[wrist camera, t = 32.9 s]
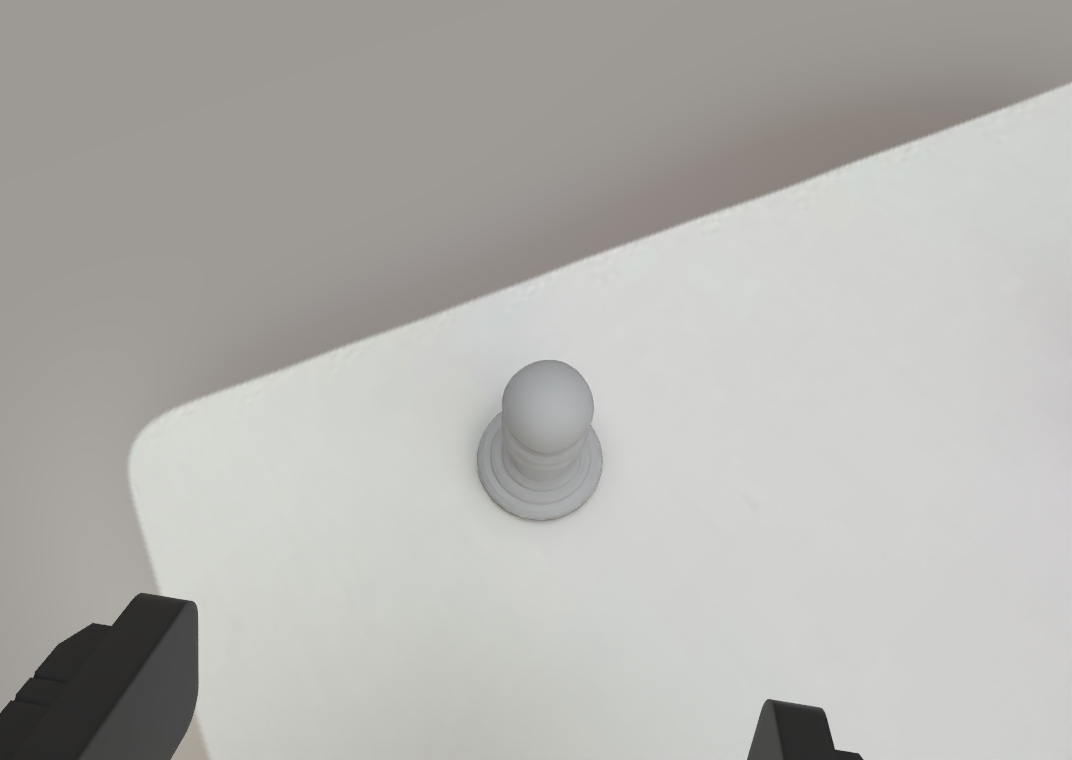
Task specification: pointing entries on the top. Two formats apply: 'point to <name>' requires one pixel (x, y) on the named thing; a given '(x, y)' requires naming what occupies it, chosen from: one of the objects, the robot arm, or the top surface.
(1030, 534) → the top surface
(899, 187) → the top surface
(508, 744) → the top surface
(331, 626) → the top surface
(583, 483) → the chess piece
